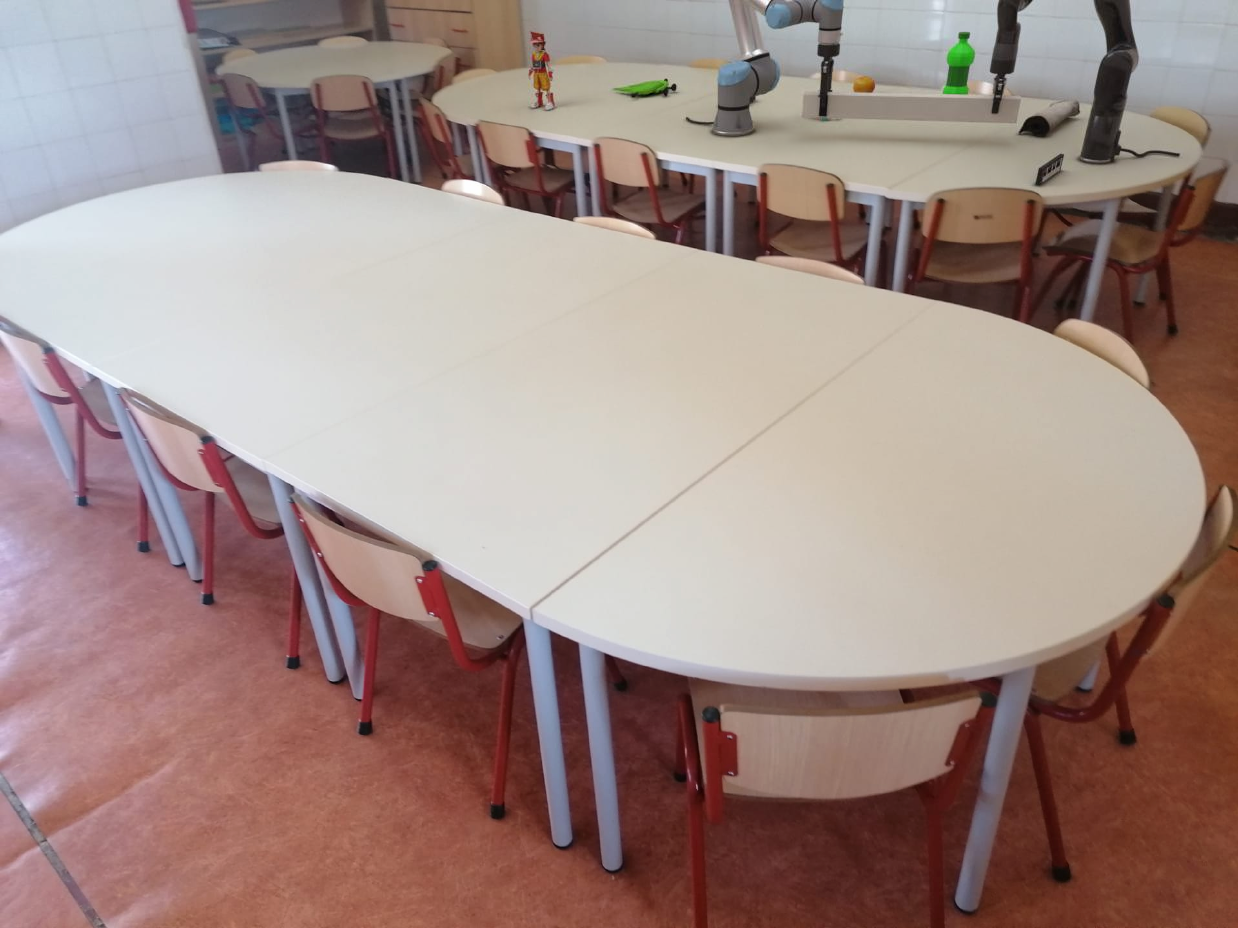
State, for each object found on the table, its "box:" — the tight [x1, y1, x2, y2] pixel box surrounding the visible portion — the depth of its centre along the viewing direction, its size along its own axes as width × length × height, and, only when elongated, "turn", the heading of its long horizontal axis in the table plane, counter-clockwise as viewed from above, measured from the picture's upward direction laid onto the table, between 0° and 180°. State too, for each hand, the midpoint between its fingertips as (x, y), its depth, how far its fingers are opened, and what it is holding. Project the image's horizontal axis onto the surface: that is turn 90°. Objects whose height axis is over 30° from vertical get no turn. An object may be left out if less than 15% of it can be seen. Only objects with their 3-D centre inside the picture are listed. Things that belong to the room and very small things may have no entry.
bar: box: [801, 90, 1022, 124], centre depth 310 cm, size 71×5×8 cm, turn 71°
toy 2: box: [612, 78, 677, 99], centre depth 396 cm, size 28×5×30 cm
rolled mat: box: [1018, 99, 1081, 137], centre depth 319 cm, size 30×9×10 cm
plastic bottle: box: [942, 31, 976, 95], centre depth 348 cm, size 10×10×25 cm
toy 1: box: [527, 31, 556, 111], centre depth 374 cm, size 12×9×30 cm
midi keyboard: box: [1035, 153, 1065, 186], centre depth 273 cm, size 18×1×5 cm, turn 138°
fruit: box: [852, 76, 876, 93], centre depth 369 cm, size 8×8×8 cm
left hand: (823, 114), depth 320 cm, fingers closed on bar, 5 cm apart
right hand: (994, 111), depth 302 cm, fingers closed on bar, 4 cm apart
